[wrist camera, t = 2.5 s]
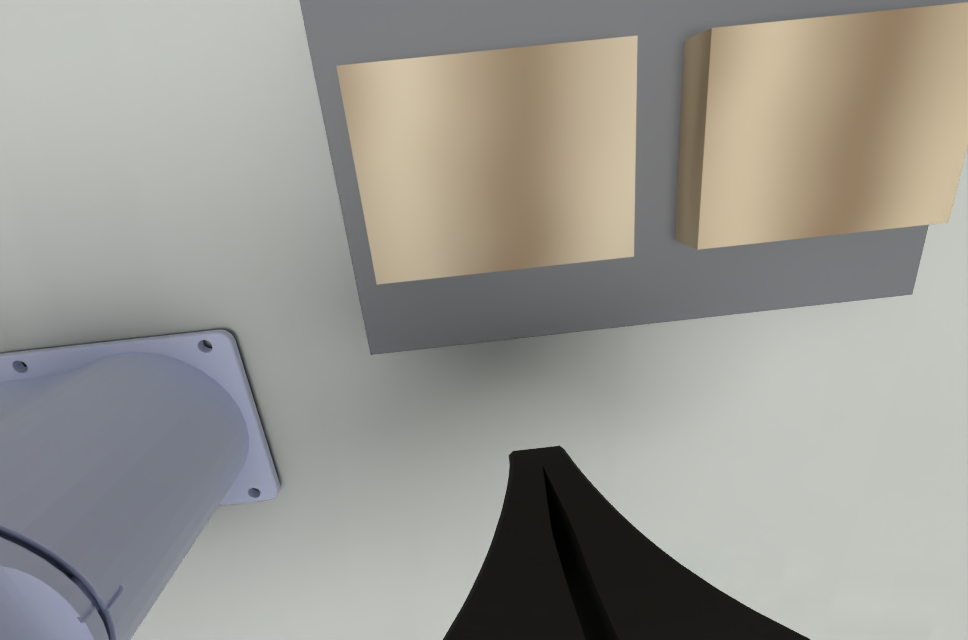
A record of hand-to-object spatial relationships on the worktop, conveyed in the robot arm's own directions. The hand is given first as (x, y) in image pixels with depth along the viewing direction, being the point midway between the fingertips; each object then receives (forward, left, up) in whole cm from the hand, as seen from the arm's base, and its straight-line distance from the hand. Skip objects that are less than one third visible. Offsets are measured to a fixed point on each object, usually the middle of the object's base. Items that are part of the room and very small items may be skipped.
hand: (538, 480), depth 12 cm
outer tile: (+10, +7, -6) cm, 14 cm away
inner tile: (0, +7, -6) cm, 10 cm away
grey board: (+5, +7, -8) cm, 12 cm away
